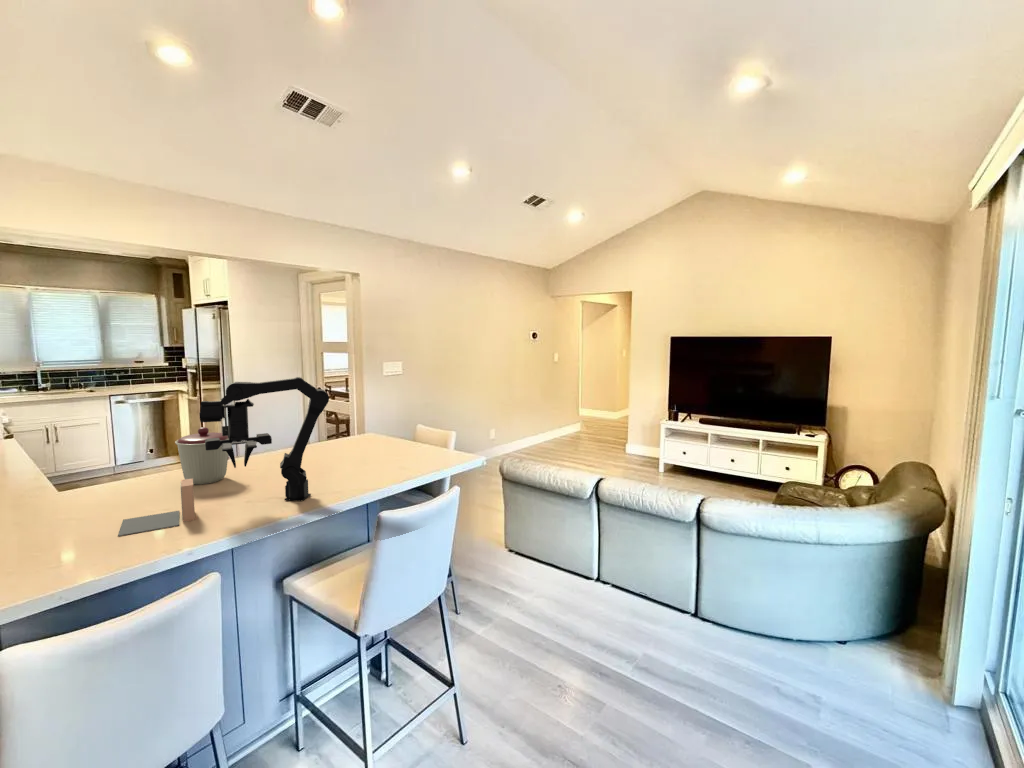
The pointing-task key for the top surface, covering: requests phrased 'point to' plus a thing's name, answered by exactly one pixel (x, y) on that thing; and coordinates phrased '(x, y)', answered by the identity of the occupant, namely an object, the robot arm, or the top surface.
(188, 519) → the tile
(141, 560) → the top surface
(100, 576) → the top surface
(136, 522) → the mat
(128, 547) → the top surface
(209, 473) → the canister
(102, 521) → the top surface
